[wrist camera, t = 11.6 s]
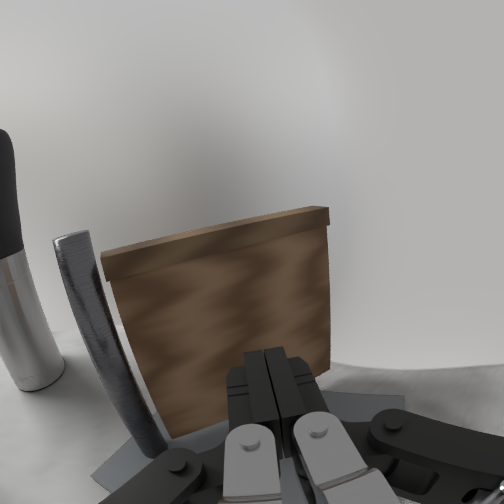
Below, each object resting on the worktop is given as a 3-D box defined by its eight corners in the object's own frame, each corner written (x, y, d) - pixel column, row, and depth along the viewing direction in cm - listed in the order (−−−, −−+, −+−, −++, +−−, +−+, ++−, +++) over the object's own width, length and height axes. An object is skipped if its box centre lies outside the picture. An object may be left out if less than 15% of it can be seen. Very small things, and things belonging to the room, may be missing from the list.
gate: (169, 441, 19) (100, 258, 15) (163, 426, 20) (101, 252, 16) (332, 369, 26) (328, 207, 22) (320, 360, 27) (312, 205, 23)
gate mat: (93, 479, 15) (90, 475, 15) (200, 372, 31) (199, 368, 31) (368, 582, 6) (370, 581, 6) (402, 399, 21) (404, 395, 21)
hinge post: (139, 455, 19) (46, 241, 14) (155, 439, 21) (76, 231, 16) (160, 466, 18) (62, 239, 13) (175, 448, 20) (96, 228, 15)
